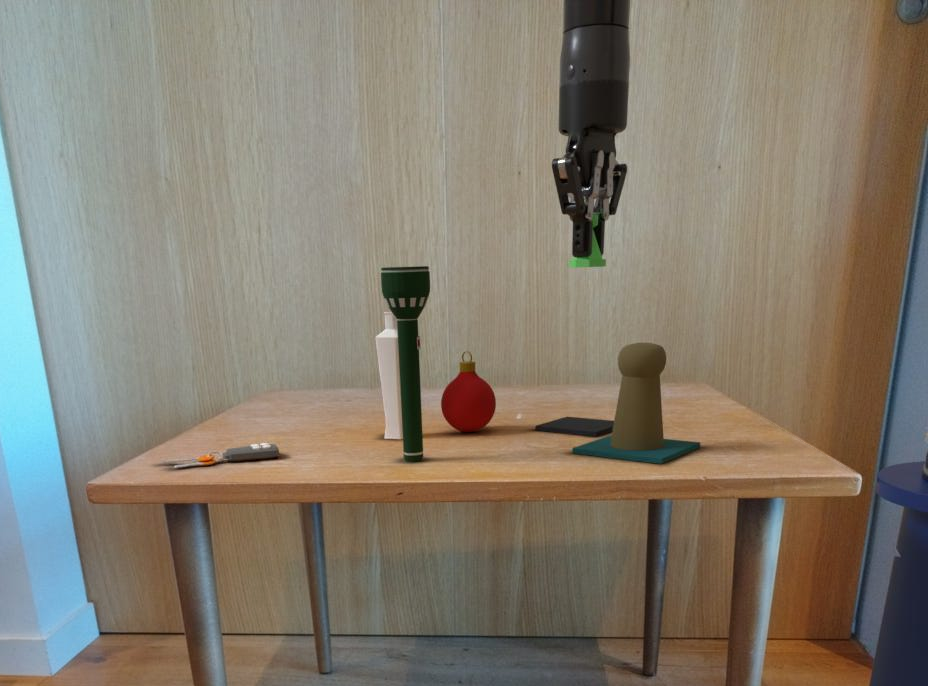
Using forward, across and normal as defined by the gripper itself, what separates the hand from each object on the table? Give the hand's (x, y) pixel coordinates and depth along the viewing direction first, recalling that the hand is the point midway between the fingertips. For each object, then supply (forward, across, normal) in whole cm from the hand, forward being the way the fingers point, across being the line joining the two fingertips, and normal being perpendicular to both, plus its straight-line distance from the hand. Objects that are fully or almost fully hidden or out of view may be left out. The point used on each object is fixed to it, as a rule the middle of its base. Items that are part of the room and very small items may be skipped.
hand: (588, 256), depth 99 cm
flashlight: (+21, -24, +8) cm, 32 cm away
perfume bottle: (+21, -14, +19) cm, 31 cm away
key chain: (+21, -36, +27) cm, 49 cm away
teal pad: (+20, -7, -11) cm, 24 cm away
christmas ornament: (+21, -6, +13) cm, 25 cm away
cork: (+20, -7, -11) cm, 24 cm away
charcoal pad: (+20, +2, +2) cm, 21 cm away
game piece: (+1, 0, 0) cm, 1 cm away
